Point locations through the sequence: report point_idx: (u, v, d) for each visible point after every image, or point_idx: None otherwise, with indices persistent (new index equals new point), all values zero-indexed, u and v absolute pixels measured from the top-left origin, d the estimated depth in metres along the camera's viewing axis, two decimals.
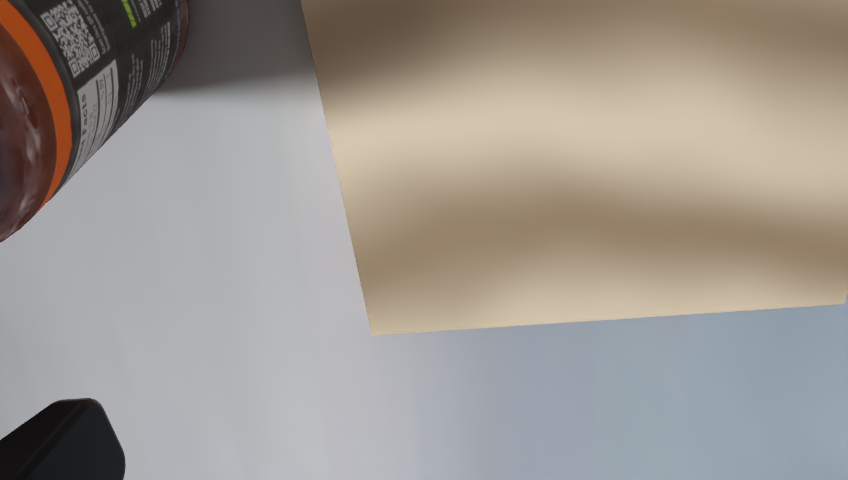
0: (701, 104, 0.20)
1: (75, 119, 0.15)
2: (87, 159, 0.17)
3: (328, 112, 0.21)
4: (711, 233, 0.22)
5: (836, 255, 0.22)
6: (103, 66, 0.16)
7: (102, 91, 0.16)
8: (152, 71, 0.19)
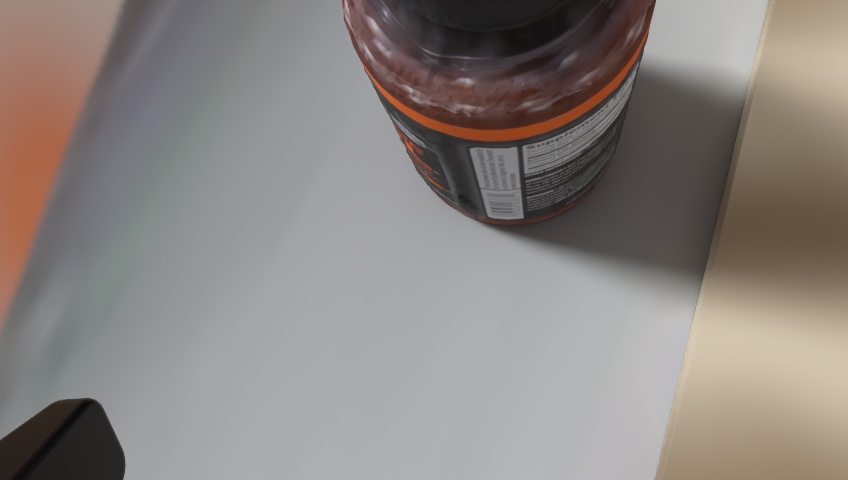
0: None
1: (629, 71, 0.15)
2: (559, 154, 0.16)
3: (710, 299, 0.20)
4: None
5: None
6: (633, 80, 0.16)
7: (626, 92, 0.16)
8: (597, 162, 0.19)
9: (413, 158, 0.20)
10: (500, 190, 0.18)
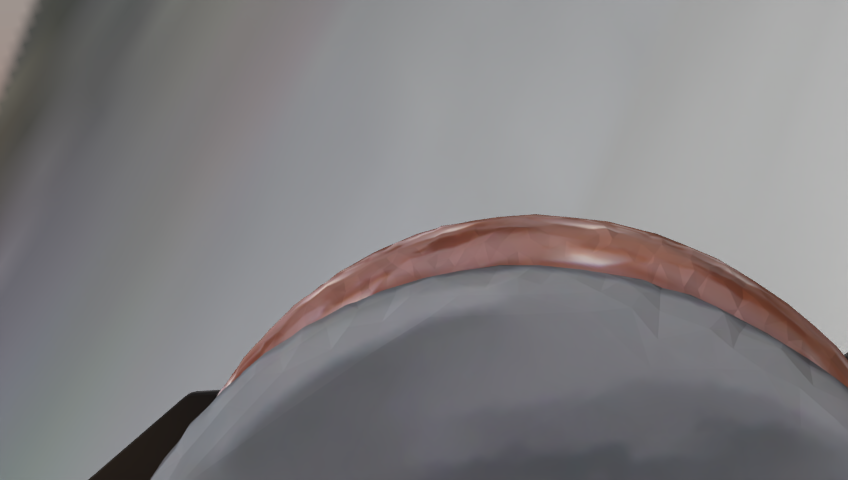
0: None
1: None
2: None
3: None
4: None
5: None
6: None
7: None
8: None
9: None
10: None
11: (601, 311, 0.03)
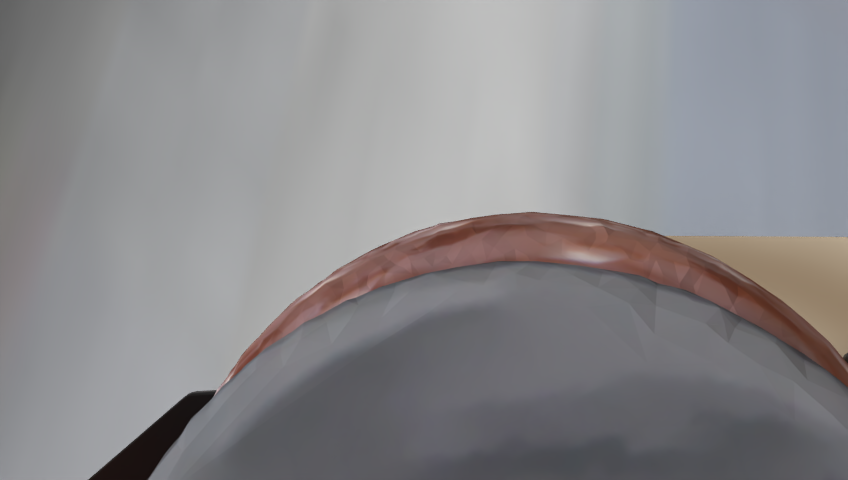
0: None
1: None
2: None
3: None
4: None
5: None
6: None
7: None
8: None
9: None
10: None
11: (599, 306, 0.03)
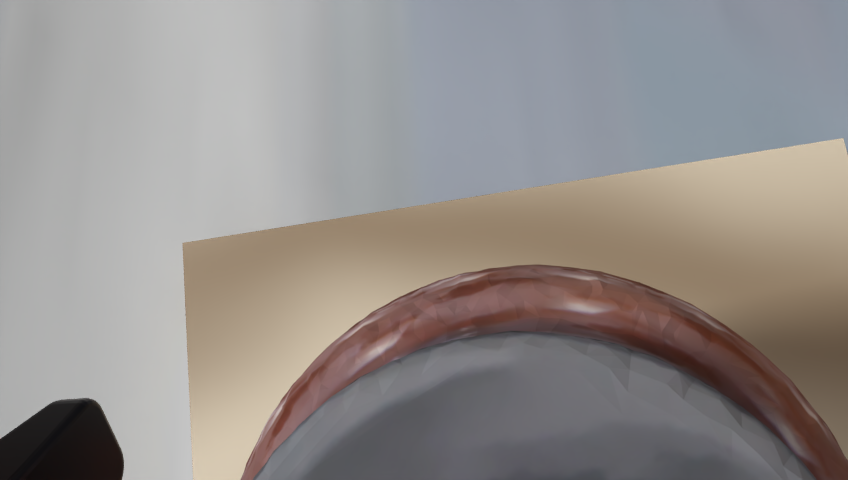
0: None
1: None
2: None
3: None
4: None
5: None
6: None
7: None
8: None
9: None
10: None
11: (586, 369, 0.05)
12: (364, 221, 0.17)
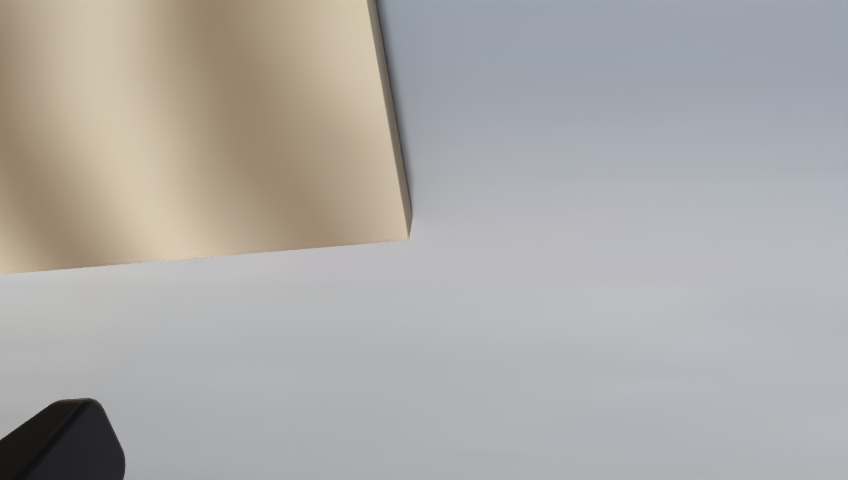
0: None
1: None
2: None
3: (142, 258, 0.22)
4: None
5: None
6: None
7: None
8: None
9: None
10: None
11: None
12: None
